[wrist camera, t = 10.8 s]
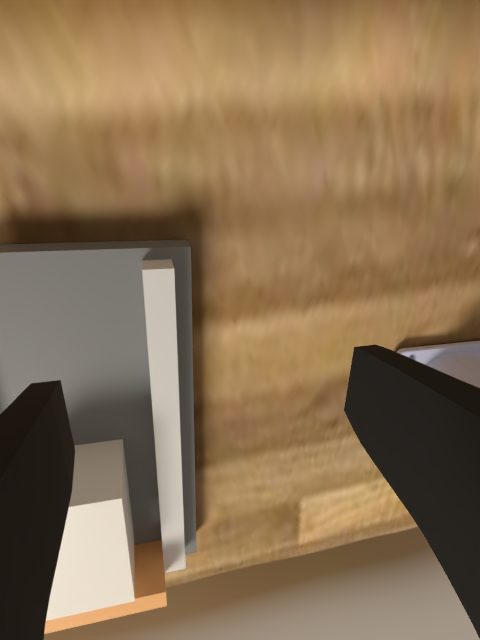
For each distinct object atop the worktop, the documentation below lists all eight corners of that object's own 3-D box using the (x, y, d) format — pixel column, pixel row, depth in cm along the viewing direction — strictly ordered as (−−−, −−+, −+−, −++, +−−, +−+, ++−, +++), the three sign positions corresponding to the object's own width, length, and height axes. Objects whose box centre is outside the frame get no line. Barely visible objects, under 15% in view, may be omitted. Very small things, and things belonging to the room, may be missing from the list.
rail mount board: (187, 239, 18) (202, 270, 14) (193, 534, 26) (204, 603, 22) (-108, 247, 15) (-183, 287, 12) (2, 571, 23) (-21, 655, 20)
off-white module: (123, 438, 20) (121, 498, 17) (134, 535, 23) (134, 601, 20) (34, 450, 19) (15, 516, 16) (58, 549, 22) (46, 621, 19)
